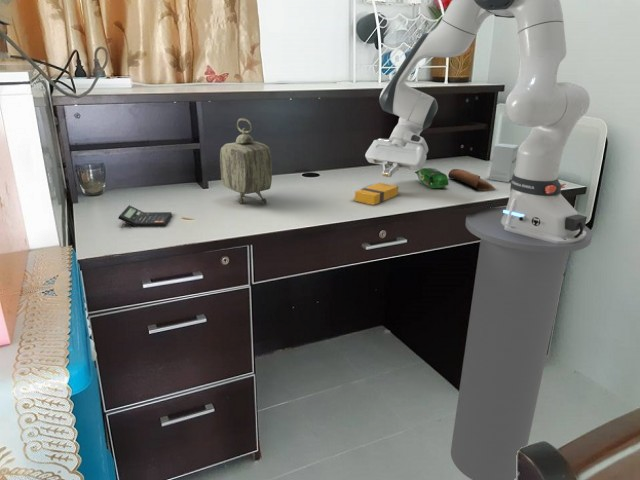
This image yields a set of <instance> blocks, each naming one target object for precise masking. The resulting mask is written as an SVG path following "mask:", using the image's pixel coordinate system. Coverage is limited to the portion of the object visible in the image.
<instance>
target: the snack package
mask: <svg viewBox="0 0 640 480" xmlns="http://www.w3.org/2000/svg"><path fill="white" fill-rule="evenodd" d="M414 173H415V174H416V175H417V178H418V180H419V181H420V182H421V183H422V184H423V185H425V186H426V187H428V188H431V189H444V188H445V187H446V186H448V185H449V179H448V178H449V177H448V175H446V174H445V173H444V172H442V171H440V170H439V169H437V168H434V167H423V168H422V169H421V170H419V171H417V170H415V171H414Z"/></svg>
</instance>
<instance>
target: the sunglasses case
mask: <svg viewBox="0 0 640 480" xmlns="http://www.w3.org/2000/svg"><path fill="white" fill-rule="evenodd" d="M447 174H448V175H447V178H449V179H451V180H458V181H459V182H461V183H465V184H466V185H468V186H471V187H473V188H474V189H476V190H477V192H481V191H482V192H487V191H493V190H496V188H495V186H493V185H492V184H491V183H490V182H488V181H486V180H485V179H482V178H481V176H480V175H478V174H475V173H473V172H470V171H467V170H464V169H460V168H453V169H451V170H450V171H449V172H448V173H447Z"/></svg>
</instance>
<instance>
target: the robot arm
mask: <svg viewBox="0 0 640 480" xmlns="http://www.w3.org/2000/svg"><path fill="white" fill-rule="evenodd" d="M492 15H493V16H495V17H498V18H506V19H515V23H516V32H517V34H516V35H517V42H518V54H519V55H518V56H519V68H518V74H517V79H516V82H515V84H514V85H515V86H514V87H513V89H512V90H511V91H510V92H509V94H508V95H507V98H506V100H505V104H504V105H505V106H504V110H505V111H504V112H505V115H506V117H507V119H508V120H509V121H510V123H512V124H514V125H518V126H521V127H527V128H531V130H530V132H529V134H528V136H526V138H525V139H524V140H523V141H522V142H521V143H520V145H519V146H518V152H517V159H516V165H515V171H514V174H513V175H512V179H511V180H510V187H509V188H510V194H509V197H508V201H507V204H506V210H503V213H504V215H503V217H502V219H501V224H502V225H503V226H504V230H506V231H510V232H513V233H517V234H521V235H525V236H529V237H533V238H537V239H540V240H544V241H548V242H552V243H556V244H568V243H574V242H577V241H580V240H582V239H584V238H585V237H586V231H584V230H583V228H585V226H586V223H587V219H588V216H585V215H583V214H579V213H578V211H577V209H575V208H574V207H573V205H571V203H570V202H569V201H568V200H567V199H566V198H565V197H564V196H563V194H562V189H565V188H566V183H560V181H559V178H558V176H559V170H560V166H561V161H562V157H563V153H564V149H565V147H566V144H567V142H568V140H569V138H570V136H571V134H572V132H573V130H574V129H575V126H576V125H577V124H578V122H579V121H580V120H581V119H582V118H583V117H584V116H585V115H586V114H587V112H588V110H589V108H590V103H591V100H590V95H589V92H588V90H587V89H585V87H583V86H581V85H578V84H575V83H572V82H568V81H567V82H565V81H564V82H558V81H557V80H558V79H557V78H558V70H559V67H560V64H561V63H562V62H563V61H564V59H565V58H566V56H567V43H566V32H565V31H566V30H565V22H564V14H563V8H562V4H561V0H451V1H450V3H449V4H448V6H447V8H446V10H445V11H444V13H443V16H442V18H441V19H440V22H439V23H438V24H437V26H436V27H435V28H434V29H433V30H431V31H429V32H424V33H423V34H422V35H421V36H420V37H419V38H418V40H417V41H416V43H415V44H414V46H413V47H412V48H411V49H410V51H409V53H408V54H407V55H406V57H405V59H404V60H403V62H402V63H401V64H400V66H399V68H398V69H397V71H396V72H395V74H394V76H392V78H391V79H390V80H389V81H388V82H387V83H386V85H385V86H384V87H383V89H382V90H381V92H380V95H379V99H378V102H379V105H380V107H381V110H382V111H384V112H386V113H388V114H390V115H391V114H392V115H395V116H398V117H399V118H398V122H397V124H396V125H395V126H394V128H393V130H392V131H391V134H390V136H389V138H381V137H379V138H377V139H374V140H373V142H372V143H371V144H370V146H369V147H368V149H367V150H366V152H365V154H364V157H365V159H366V160H367V162H368V163H369V164H374V165H375V164H376V165H381V166H382V171H381V176H382V177H386V178H392V176H393V174H394V173H396V172H397V171H399V169H404V170H405V169H406V170H411V171H419V170H421V169H422V168H424V166H425V164H426V162H427V158H428V157H427V154H428V152H429V147H428V144H427V142H426V140H425V138H424V137H422V136H420V135H421V133H422V132H423V130H426V129H428V128H429V127H431V125H432V123H433V120H434V117H436V114H437V112H438V111H439V105H438V102H437V99H436V98H435V97H434V96H431V95H430V94H427V93H425V92H423V91H421V90H418V89H416V88H414V87H412V86H409V85H408V84H406V81H407V79H408V78H409V76H410V75H411V73H412V72H413V71H414V69H415V67H417V65H418V63H419V62H420V61H422V60H424V59H428V58H443V59H444V58H445V59H447V58H454V57H459V56H461V55H463V54H465V52H467V51H468V49H469V48H470V46H471V45H472V43H473V42H474V39H475V38H476V36H477V34H478V32H479V30H480V28H481V26H482V25H483V22H484V21H485V20H486V19H487V18H488V17H490V16H492ZM390 167H391V168H390ZM389 168H390V169H389Z"/></svg>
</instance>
